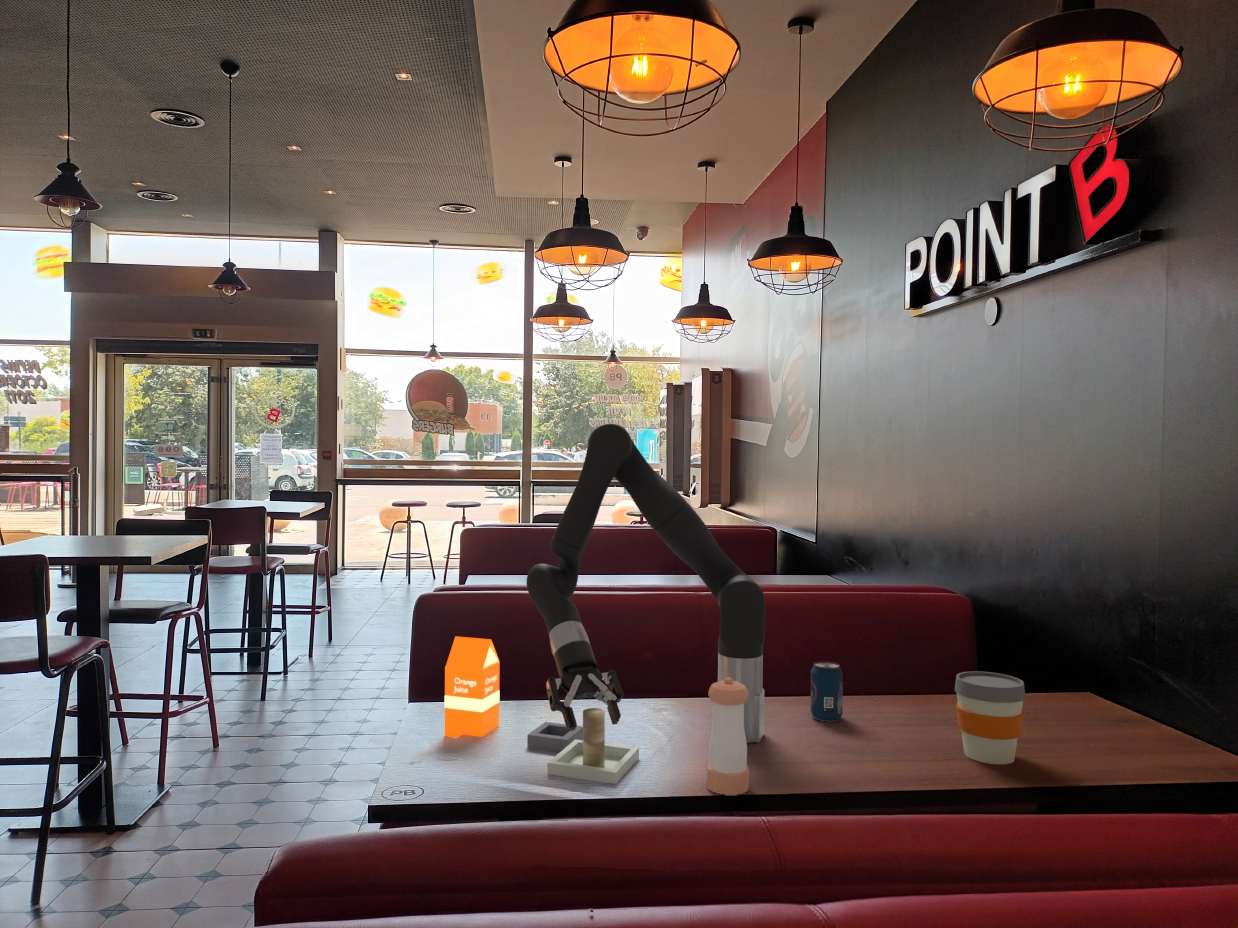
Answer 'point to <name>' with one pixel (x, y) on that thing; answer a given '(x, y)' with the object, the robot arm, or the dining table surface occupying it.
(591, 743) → the dowel
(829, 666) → the soda can
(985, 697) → the reusable coffee cup
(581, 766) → the tray
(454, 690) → the orange juice
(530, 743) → the grey square socket
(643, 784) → the dining table surface
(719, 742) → the pepper shaker
